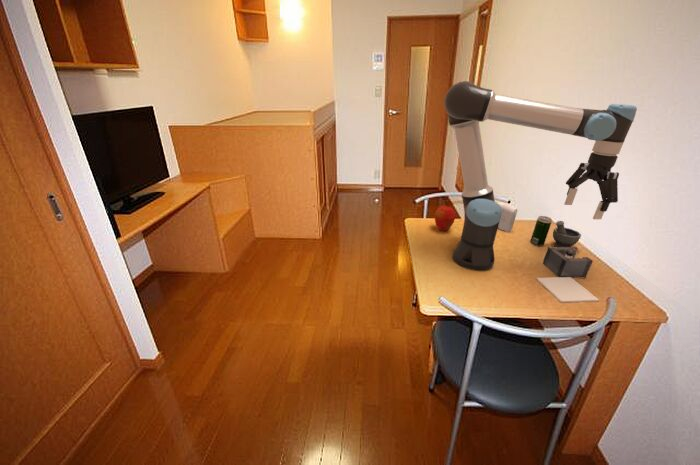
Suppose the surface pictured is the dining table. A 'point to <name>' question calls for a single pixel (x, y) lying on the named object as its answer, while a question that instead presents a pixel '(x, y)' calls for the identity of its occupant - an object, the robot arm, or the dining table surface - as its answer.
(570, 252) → the stand
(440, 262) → the dining table surface
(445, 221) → the apple
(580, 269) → the c link
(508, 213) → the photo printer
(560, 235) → the mortar and pestle
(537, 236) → the beer can
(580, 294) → the mat
